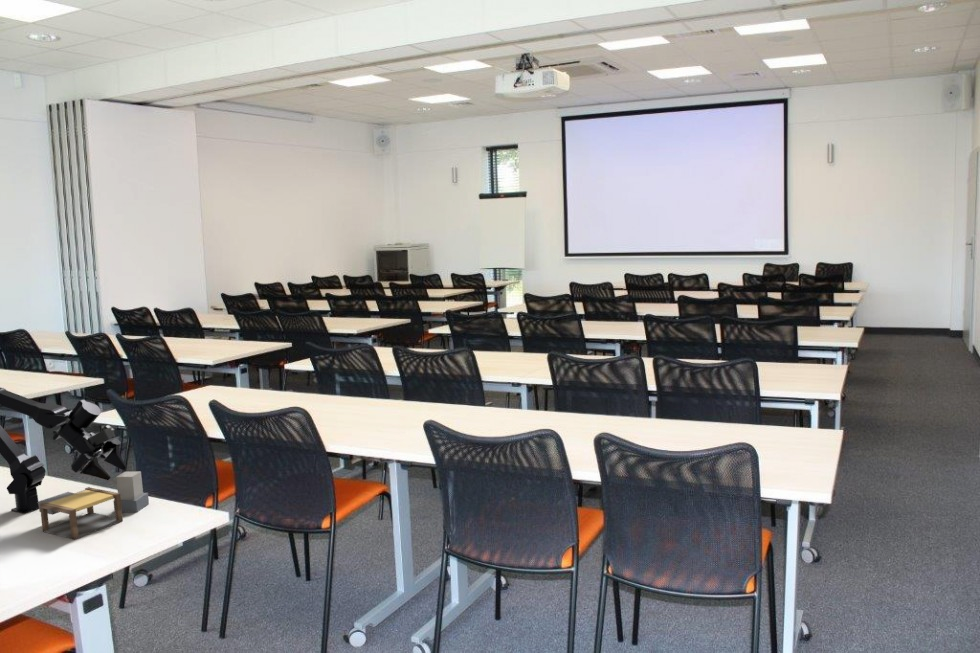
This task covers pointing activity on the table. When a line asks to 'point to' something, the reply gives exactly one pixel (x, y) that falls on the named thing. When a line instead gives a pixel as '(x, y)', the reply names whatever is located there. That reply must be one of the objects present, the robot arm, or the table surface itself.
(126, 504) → the plinth
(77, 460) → the robot arm
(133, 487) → the grey upright block
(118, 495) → the frame
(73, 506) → the trapdoor
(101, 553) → the table surface
